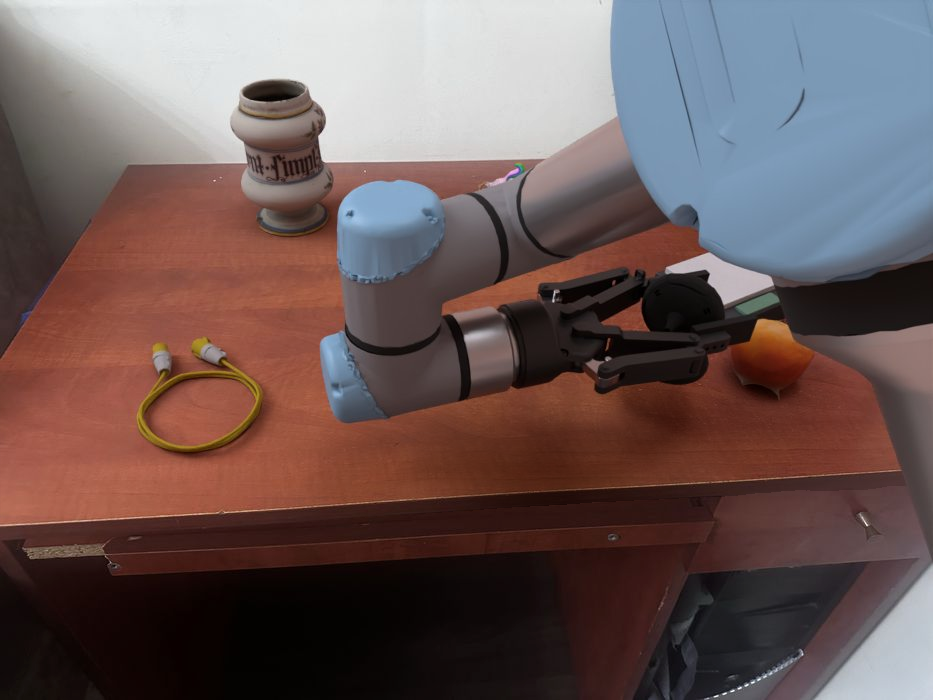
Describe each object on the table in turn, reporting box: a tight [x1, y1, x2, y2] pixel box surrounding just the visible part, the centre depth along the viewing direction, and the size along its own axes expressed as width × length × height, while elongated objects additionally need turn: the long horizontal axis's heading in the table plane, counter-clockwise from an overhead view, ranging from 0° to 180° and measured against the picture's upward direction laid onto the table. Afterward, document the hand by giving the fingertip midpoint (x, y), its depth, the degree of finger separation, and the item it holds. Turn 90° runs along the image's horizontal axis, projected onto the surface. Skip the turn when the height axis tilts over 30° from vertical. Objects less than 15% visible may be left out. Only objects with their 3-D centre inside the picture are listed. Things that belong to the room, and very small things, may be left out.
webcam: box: [640, 273, 726, 386], centre depth 67 cm, size 8×8×10 cm
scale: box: [654, 251, 785, 321], centre depth 86 cm, size 12×12×3 cm
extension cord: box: [136, 336, 264, 453], centre depth 70 cm, size 12×16×2 cm
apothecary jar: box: [229, 78, 334, 237], centre depth 93 cm, size 12×12×18 cm
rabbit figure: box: [477, 162, 526, 190], centre depth 104 cm, size 6×6×15 cm
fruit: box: [730, 319, 815, 401], centre depth 75 cm, size 8×8×8 cm
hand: (726, 304), depth 68 cm, fingers closed on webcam, 7 cm apart
